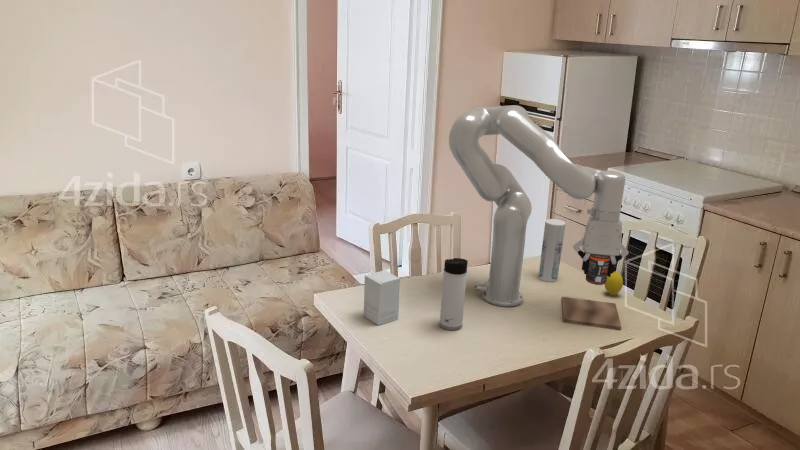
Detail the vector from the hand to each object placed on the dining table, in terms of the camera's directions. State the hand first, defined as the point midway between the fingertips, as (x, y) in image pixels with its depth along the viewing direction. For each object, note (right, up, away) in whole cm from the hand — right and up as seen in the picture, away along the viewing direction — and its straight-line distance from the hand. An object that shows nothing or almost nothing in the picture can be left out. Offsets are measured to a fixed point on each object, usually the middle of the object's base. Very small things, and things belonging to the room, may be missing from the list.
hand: (596, 273), depth 186 cm
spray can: (-8, -4, +29) cm, 30 cm away
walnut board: (-1, -12, +4) cm, 13 cm away
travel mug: (-43, -14, -7) cm, 46 cm away
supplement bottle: (0, -3, +1) cm, 3 cm away
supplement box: (-63, -12, -5) cm, 64 cm away
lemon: (+11, -8, +19) cm, 23 cm away
